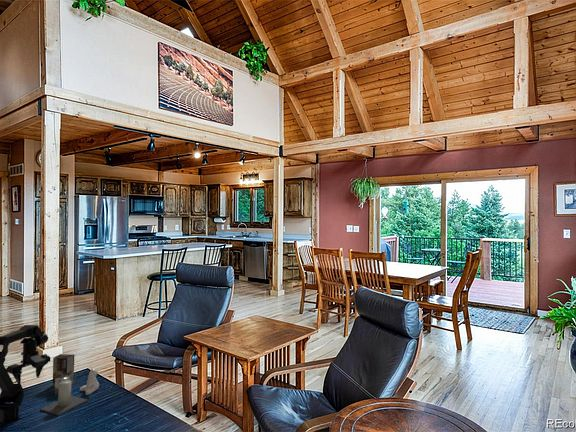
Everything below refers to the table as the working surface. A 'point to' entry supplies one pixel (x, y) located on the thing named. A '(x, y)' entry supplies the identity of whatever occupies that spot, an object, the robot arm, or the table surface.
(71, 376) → the coffee box
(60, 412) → the mat
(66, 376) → the tin
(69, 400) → the light bulb
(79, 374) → the table surface
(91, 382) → the sitting furry creature
